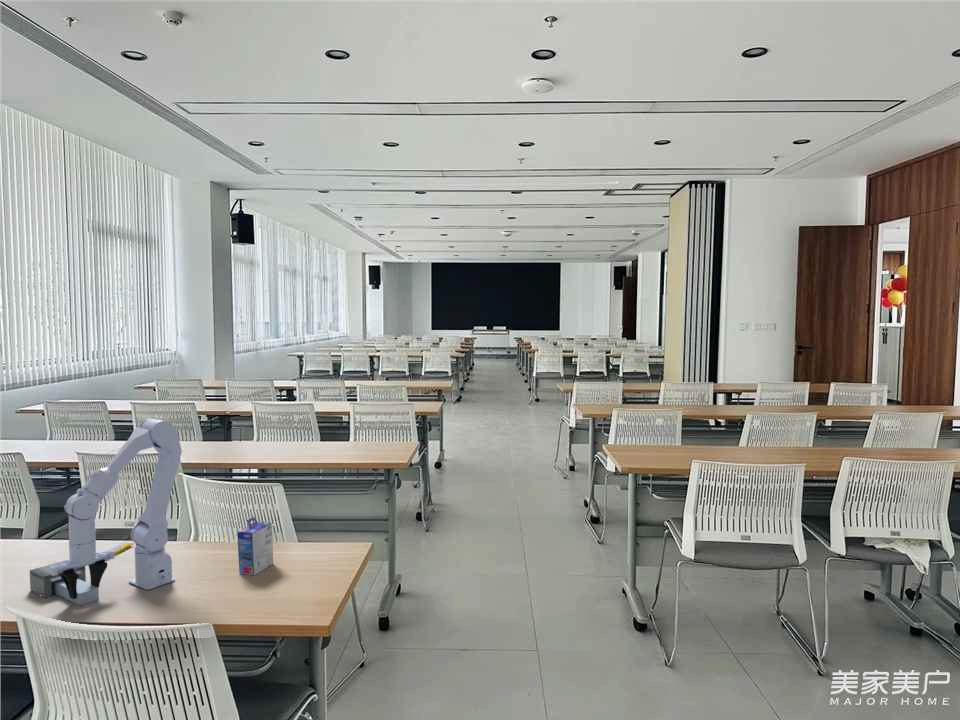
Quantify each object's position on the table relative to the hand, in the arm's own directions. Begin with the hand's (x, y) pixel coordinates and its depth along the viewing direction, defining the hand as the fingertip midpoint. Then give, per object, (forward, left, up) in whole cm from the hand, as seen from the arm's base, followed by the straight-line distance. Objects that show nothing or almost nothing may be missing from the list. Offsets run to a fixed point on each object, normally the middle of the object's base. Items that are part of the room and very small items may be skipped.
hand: (84, 594), depth 165 cm
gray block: (+14, 0, -1) cm, 14 cm away
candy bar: (+28, -21, -2) cm, 35 cm away
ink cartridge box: (-18, -38, -2) cm, 42 cm away
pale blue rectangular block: (+5, 0, -1) cm, 5 cm away
